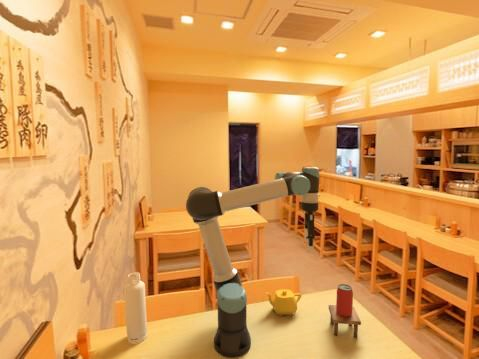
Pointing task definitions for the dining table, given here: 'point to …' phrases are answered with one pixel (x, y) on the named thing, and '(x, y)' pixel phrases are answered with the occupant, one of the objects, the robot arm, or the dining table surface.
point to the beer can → (344, 300)
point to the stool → (344, 320)
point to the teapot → (284, 302)
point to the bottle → (135, 309)
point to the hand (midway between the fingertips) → (308, 247)
